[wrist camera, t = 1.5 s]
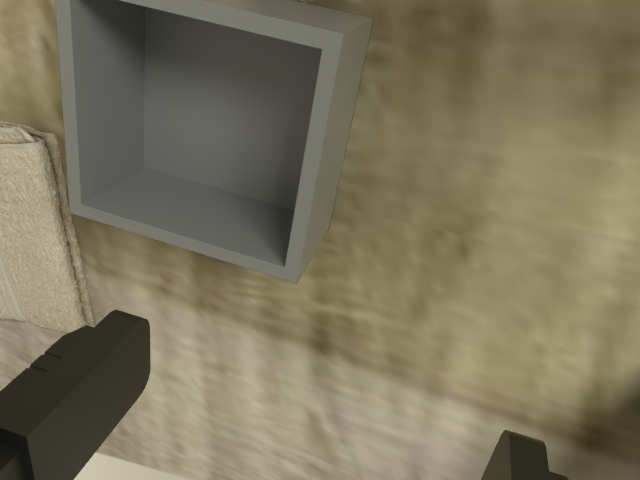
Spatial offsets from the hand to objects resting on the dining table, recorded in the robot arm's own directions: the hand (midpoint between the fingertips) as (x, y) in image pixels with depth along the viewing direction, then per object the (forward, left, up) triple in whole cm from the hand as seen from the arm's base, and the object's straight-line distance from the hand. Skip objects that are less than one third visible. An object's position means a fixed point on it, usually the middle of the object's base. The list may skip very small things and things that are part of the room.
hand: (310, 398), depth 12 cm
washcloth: (+16, -28, -23) cm, 40 cm away
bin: (+1, -11, -22) cm, 25 cm away
